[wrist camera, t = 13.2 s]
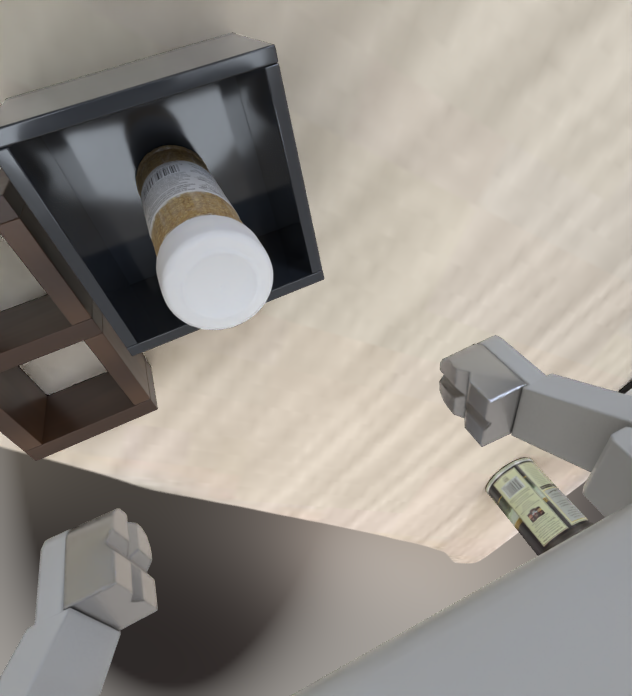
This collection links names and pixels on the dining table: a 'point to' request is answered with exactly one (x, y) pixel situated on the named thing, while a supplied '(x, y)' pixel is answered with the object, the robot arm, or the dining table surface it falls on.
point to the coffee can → (535, 505)
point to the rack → (54, 334)
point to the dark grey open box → (129, 150)
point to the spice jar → (200, 243)
